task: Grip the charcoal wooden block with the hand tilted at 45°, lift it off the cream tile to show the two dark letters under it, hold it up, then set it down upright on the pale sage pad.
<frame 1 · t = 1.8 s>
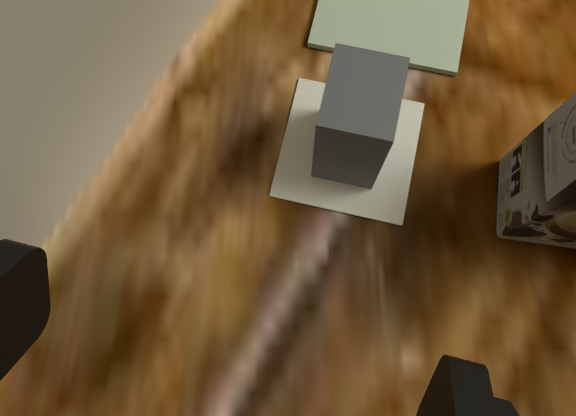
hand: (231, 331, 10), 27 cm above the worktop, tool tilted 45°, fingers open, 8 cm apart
coffee box: (557, 208, 38), on the worktop
charcoal block: (348, 148, 39), resting on cream tile
cream tile: (348, 149, 40), on the worktop
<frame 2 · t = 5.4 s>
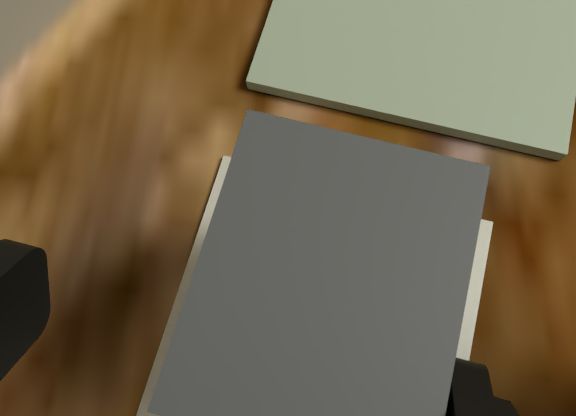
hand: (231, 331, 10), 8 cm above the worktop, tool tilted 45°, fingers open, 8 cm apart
charcoal block: (319, 323, 18), resting on cream tile
cream tile: (319, 323, 18), on the worktop
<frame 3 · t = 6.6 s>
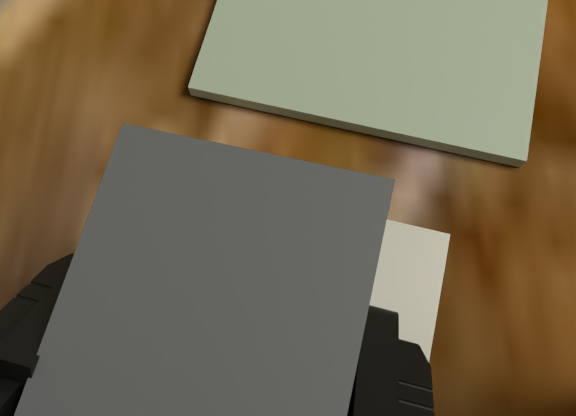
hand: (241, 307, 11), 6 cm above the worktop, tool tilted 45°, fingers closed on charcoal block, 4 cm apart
charcoal block: (266, 347, 16), resting on cream tile, touching gripper
cream tile: (267, 347, 17), on the worktop
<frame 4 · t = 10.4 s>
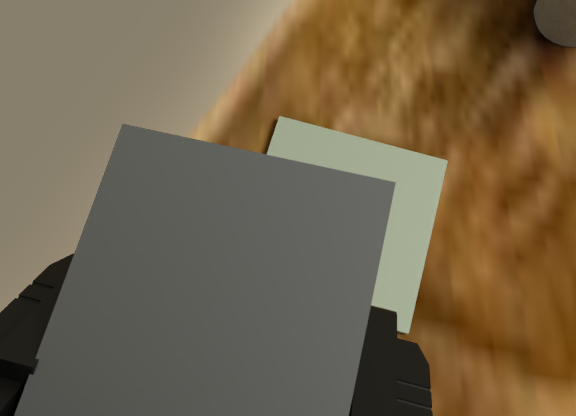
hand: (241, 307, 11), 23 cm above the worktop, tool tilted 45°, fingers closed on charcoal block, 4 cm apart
house plant: (571, 34, 39), on the worktop
sage pad: (339, 220, 35), on the worktop
charcoal block: (262, 347, 16), point 17 cm above the worktop, touching gripper
when the fingers open (7 cm above the worktop, at t = 14.2 s): charcoal block drops 1 cm, resting on sage pad.
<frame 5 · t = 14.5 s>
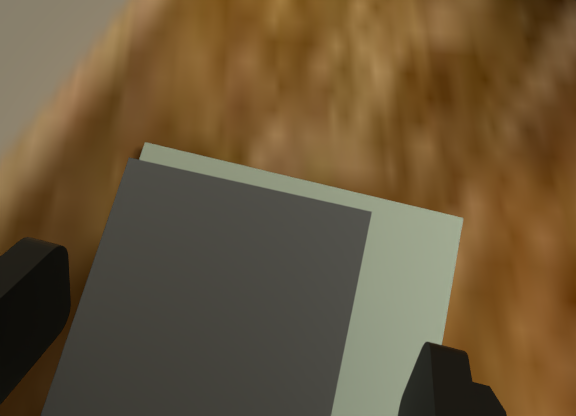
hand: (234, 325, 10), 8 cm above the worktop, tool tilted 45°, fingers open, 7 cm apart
sage pad: (258, 343, 18), on the worktop
charcoal block: (250, 346, 17), point 1 cm above the worktop, touching sage pad
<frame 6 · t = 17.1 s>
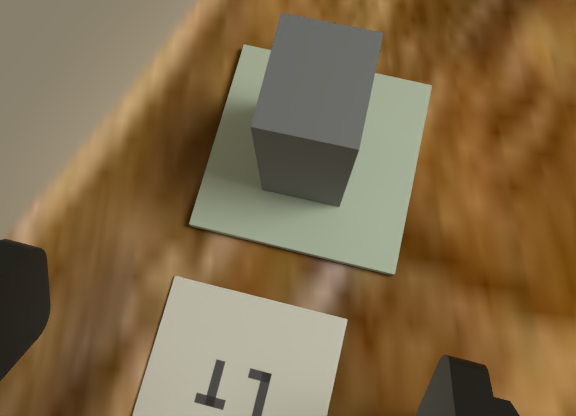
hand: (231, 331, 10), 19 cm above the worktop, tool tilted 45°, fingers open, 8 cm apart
sage pad: (314, 155, 32), on the worktop
charcoal block: (310, 154, 31), point 1 cm above the worktop, touching sage pad
cream tile: (236, 388, 28), on the worktop
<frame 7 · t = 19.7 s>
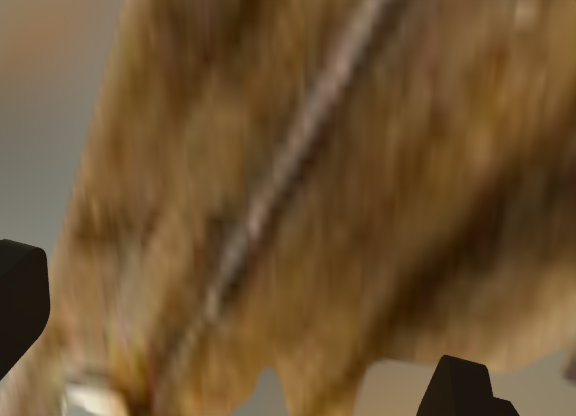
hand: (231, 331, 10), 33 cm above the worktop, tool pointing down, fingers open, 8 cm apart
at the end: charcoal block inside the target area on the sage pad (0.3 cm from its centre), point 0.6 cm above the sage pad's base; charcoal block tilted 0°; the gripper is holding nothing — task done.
